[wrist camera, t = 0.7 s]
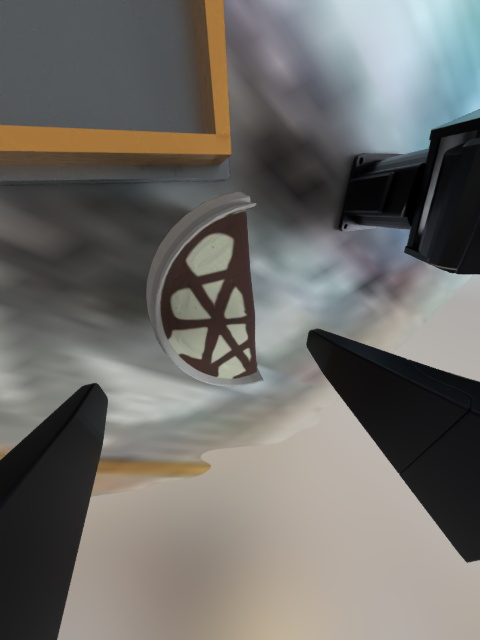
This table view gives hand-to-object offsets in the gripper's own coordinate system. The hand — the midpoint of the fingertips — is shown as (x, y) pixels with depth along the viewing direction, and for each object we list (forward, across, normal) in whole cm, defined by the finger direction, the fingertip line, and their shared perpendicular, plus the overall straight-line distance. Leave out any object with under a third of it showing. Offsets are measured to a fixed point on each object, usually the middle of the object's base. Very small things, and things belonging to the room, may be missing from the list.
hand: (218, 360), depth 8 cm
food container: (+13, 0, 0) cm, 13 cm away
